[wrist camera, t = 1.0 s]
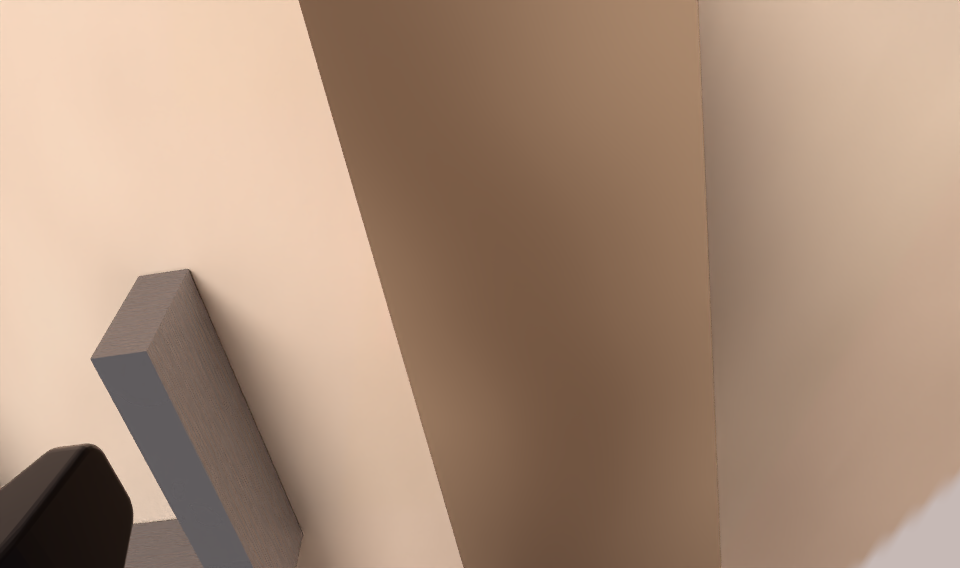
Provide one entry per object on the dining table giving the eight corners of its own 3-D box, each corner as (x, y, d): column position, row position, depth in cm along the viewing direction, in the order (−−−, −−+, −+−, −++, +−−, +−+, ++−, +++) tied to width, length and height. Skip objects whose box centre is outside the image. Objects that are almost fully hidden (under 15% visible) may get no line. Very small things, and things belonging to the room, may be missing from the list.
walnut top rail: (603, -215, 15) (692, -132, 8) (657, 402, 23) (726, 700, 16) (371, -170, 15) (282, -55, 9) (503, 421, 23) (508, 719, 16)
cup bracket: (188, 269, 20) (139, 363, 18) (302, 534, 25) (280, 640, 23) (-184, 324, 21) (-286, 422, 19) (-2, 568, 26) (-61, 675, 24)
